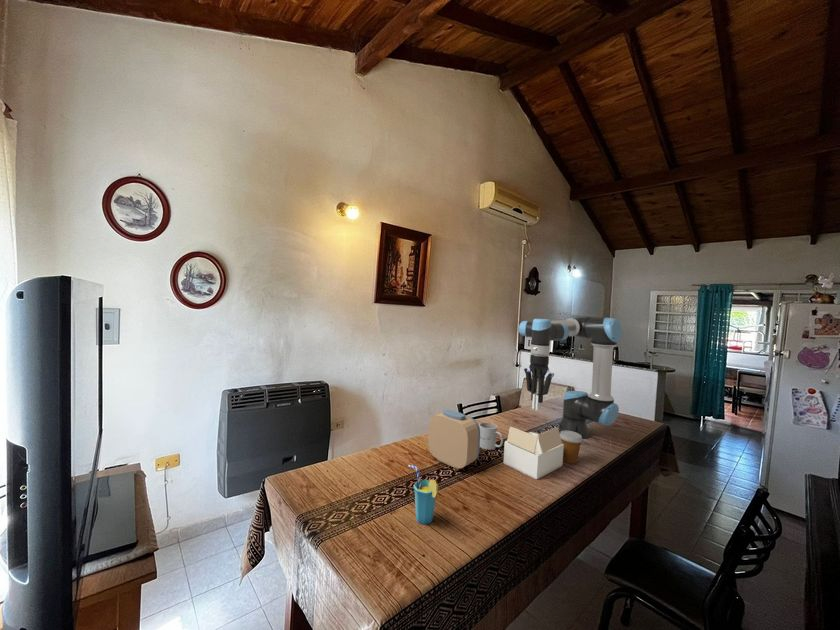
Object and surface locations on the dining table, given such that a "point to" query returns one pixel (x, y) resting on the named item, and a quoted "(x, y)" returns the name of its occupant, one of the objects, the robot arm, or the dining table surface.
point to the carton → (533, 459)
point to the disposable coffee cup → (570, 445)
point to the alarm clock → (454, 438)
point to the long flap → (549, 439)
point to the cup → (424, 498)
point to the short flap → (522, 439)
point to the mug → (489, 436)
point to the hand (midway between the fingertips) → (536, 409)
